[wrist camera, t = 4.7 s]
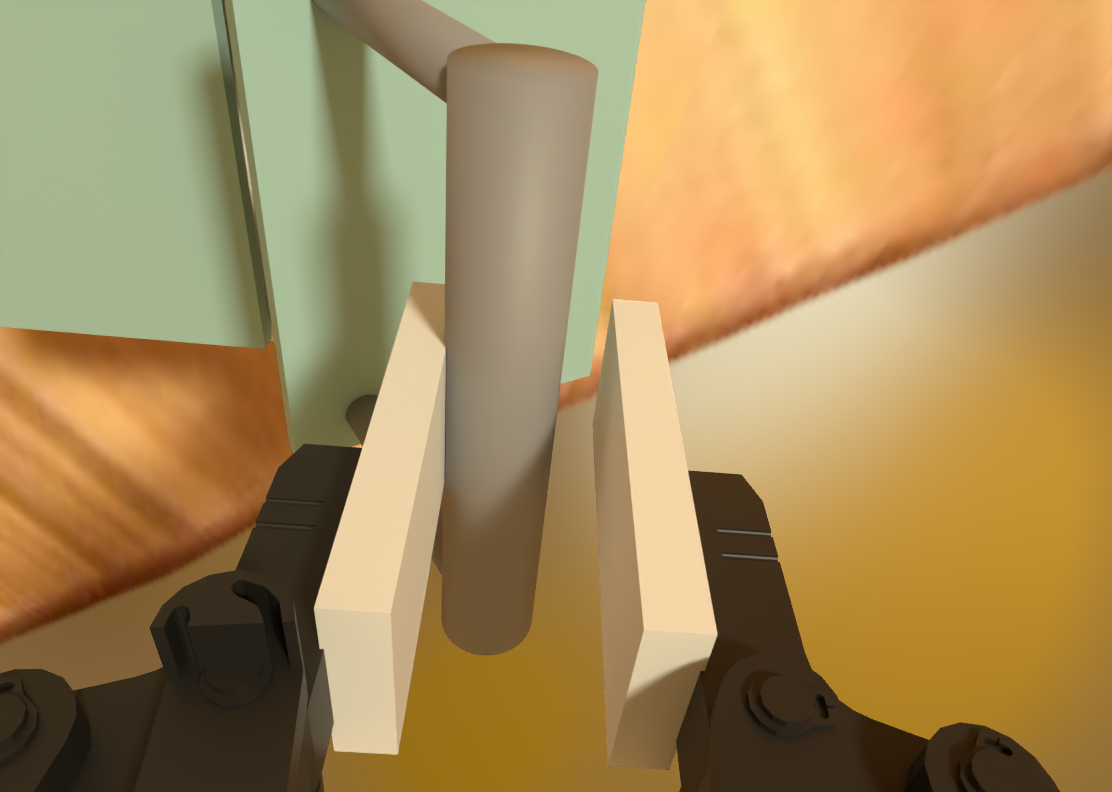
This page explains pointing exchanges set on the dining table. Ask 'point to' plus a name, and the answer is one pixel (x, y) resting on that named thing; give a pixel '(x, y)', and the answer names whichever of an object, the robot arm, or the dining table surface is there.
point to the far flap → (125, 174)
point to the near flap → (441, 238)
